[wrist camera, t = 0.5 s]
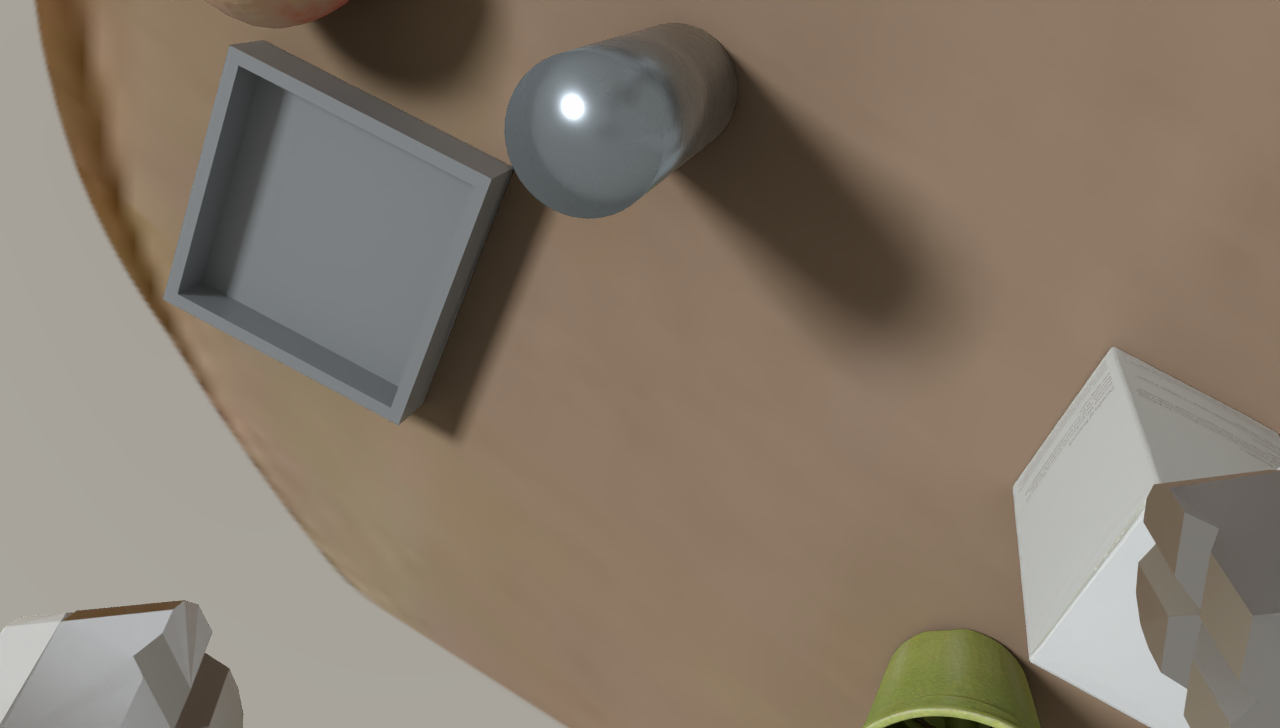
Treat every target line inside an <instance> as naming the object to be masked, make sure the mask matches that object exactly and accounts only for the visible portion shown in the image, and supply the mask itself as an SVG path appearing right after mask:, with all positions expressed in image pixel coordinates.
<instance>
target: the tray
mask: <svg viewBox="0 0 1280 728" xmlns="http://www.w3.org/2000/svg"><path fill="white" fill-rule="evenodd" d="M513 169H514V168H513V167H512V166H510V165H508V164H506V163H504V162H502V161H500V160H498V159H496V158H494V157H492V156H490V155H488V154H486V153H484V152H482V151H480V150H478V149H476V148H474V147H472V146H470V145H468V144H466V143H464V142H462V141H460V140H458V139H456V138H455V137H453V136H451V135H449V134H447V133H445V132H443V131H441V130H439V129H437V128H435V127H433V126H431V125H429V124H427V123H425V122H423V121H421V120H419V119H417V118H415V117H413V116H411V115H409V114H407V113H405V112H403V111H401V110H399V109H397V108H396V107H394V106H392V105H390V104H388V103H386V102H384V101H382V100H380V99H378V98H376V97H374V96H372V95H370V94H368V93H366V92H364V91H362V90H360V89H358V88H356V87H354V86H352V85H350V84H348V83H346V82H344V81H342V80H340V79H338V78H337V77H335V76H333V75H331V74H329V73H327V72H325V71H323V70H321V69H319V68H317V67H315V66H313V65H311V64H309V63H307V62H305V61H303V60H301V59H299V58H297V57H295V56H293V55H291V54H289V53H287V52H285V51H283V50H281V49H279V48H278V47H276V46H274V45H272V44H270V43H268V42H266V41H264V40H262V41H255V42H248V43H241V44H234V45H229V49H228V53H227V57H226V60H225V64H224V68H223V72H222V76H221V80H220V83H219V87H218V91H217V95H216V99H215V103H214V106H213V110H212V114H211V118H210V122H209V126H208V129H207V133H206V137H205V141H204V145H203V149H202V152H201V156H200V160H199V164H198V168H197V171H196V175H195V179H194V183H193V187H192V191H191V194H190V198H189V202H188V206H187V210H186V214H185V217H184V221H183V225H182V229H181V233H180V237H179V240H178V244H177V248H176V252H175V256H174V260H173V263H172V267H171V271H170V275H169V279H168V283H167V286H166V290H165V294H164V298H163V300H165V301H167V302H169V303H171V304H173V305H175V306H176V307H178V308H180V309H182V310H184V311H186V312H188V313H190V314H191V315H193V316H195V317H197V318H199V319H201V320H203V321H205V322H206V323H208V324H210V325H212V326H214V327H216V328H218V329H219V330H221V331H223V332H225V333H227V334H229V335H231V336H233V337H234V338H236V339H238V340H240V341H242V342H244V343H246V344H248V345H249V346H251V347H253V348H255V349H257V350H259V351H261V352H263V353H264V354H266V355H268V356H270V357H272V358H274V359H276V360H277V361H279V362H281V363H283V364H285V365H287V366H289V367H291V368H292V369H294V370H296V371H298V372H300V373H302V374H304V375H306V376H307V377H309V378H311V379H313V380H315V381H317V382H319V383H321V384H322V385H324V386H326V387H328V388H330V389H332V390H334V391H335V392H337V393H339V394H341V395H343V396H345V397H347V398H349V399H350V400H352V401H354V402H356V403H358V404H360V405H362V406H364V407H365V408H367V409H369V410H371V411H373V412H375V413H377V414H378V415H380V416H382V417H384V418H386V419H388V420H390V421H392V422H393V423H395V424H397V425H399V424H400V423H402V422H403V421H404V420H405V419H406V418H407V417H409V416H410V415H411V414H412V413H413V412H415V411H416V410H417V409H418V408H419V407H420V406H422V405H423V402H424V400H425V397H426V395H427V392H428V389H429V387H430V384H431V382H432V379H433V376H434V374H435V371H436V369H437V366H438V364H439V361H440V358H441V356H442V353H443V351H444V348H445V345H446V343H447V340H448V338H449V335H450V332H451V330H452V327H453V325H454V322H455V319H456V317H457V314H458V312H459V309H460V306H461V304H462V301H463V299H464V296H465V294H466V291H467V288H468V286H469V283H470V281H471V278H472V275H473V273H474V270H475V268H476V265H477V262H478V260H479V257H480V255H481V252H482V249H483V247H484V244H485V242H486V239H487V237H488V234H489V231H490V229H491V226H492V224H493V221H494V218H495V216H496V213H497V211H498V208H499V205H500V203H501V200H502V198H503V195H504V192H505V190H506V187H507V185H508V182H509V179H510V177H511V174H512V172H513Z"/></svg>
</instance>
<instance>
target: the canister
mask: <svg viewBox="0 0 1280 728" xmlns="http://www.w3.org/2000/svg"><path fill="white" fill-rule="evenodd" d="M737 94H738V83H737V76H736V72H735V68H734V66H733V63H732V61H731V59H730V57H729V55H728V53H727V52H726V50H725V49H724V48H723V46H722V45H721V44H720V43H719V42H718V41H717V40H716V39H715V38H714V37H712V36H711V35H710V34H709V33H707V32H705V31H703V30H702V29H699V28H697V27H695V26H691V25H687V24H681V23H667V24H662V25H658V26H654V27H651V28H647V29H644V30H640V31H637V32H633V33H630V34H626V35H622V36H619V37H615V38H612V39H608V40H605V41H601V42H598V43H594V44H591V45H587V46H584V47H580V48H577V49H573V50H570V51H566V52H563V53H559V54H556V55H553V56H551V57H549V58H547V59H545V60H543V61H541V62H540V63H538V64H537V65H535V66H534V67H533V68H532V69H531V70H530V71H528V72H527V73H526V74H525V76H524V77H523V78H522V79H521V80H520V82H519V83H518V85H517V87H516V88H515V90H514V92H513V94H512V96H511V99H510V101H509V105H508V108H507V112H506V118H505V142H506V147H507V152H508V155H509V158H510V161H511V164H512V166H513V168H514V170H515V173H516V174H517V176H518V177H519V179H520V181H521V182H522V183H523V185H524V186H525V187H526V189H527V190H528V191H529V192H530V193H531V194H532V195H533V196H534V197H535V198H536V199H538V200H539V201H540V202H542V203H543V204H544V205H546V206H548V207H549V208H551V209H553V210H555V211H557V212H559V213H562V214H565V215H568V216H572V217H578V218H600V217H605V216H609V215H613V214H615V213H617V212H620V211H622V210H624V209H625V208H627V207H629V206H631V205H632V204H633V203H634V202H636V201H637V200H638V199H639V198H641V197H642V196H643V195H644V194H646V193H647V192H648V191H650V190H651V189H652V188H653V187H655V186H656V185H657V184H658V183H660V182H661V181H662V180H664V179H665V178H666V177H667V176H669V175H670V174H671V173H672V172H674V171H675V170H676V169H677V168H679V167H680V166H681V165H683V164H684V163H685V162H686V161H688V160H689V159H690V158H691V157H693V156H694V155H695V154H697V153H698V152H699V151H700V150H702V149H703V148H704V147H705V146H707V145H708V144H709V143H710V142H712V141H713V140H714V139H715V138H717V137H718V136H719V135H720V134H721V133H722V132H723V130H724V129H725V128H726V126H727V125H728V123H729V121H730V119H731V118H732V115H733V113H734V110H735V106H736V102H737Z"/></svg>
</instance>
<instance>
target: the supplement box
mask: <svg viewBox="0 0 1280 728" xmlns="http://www.w3.org/2000/svg"><path fill="white" fill-rule="evenodd" d="M1279 467H1280V436H1279V434H1278V433H1276V432H1275V431H1273V430H1271V429H1269V428H1267V427H1266V426H1264V425H1262V424H1260V423H1258V422H1257V421H1255V420H1253V419H1251V418H1250V417H1248V416H1246V415H1244V414H1242V413H1240V412H1238V411H1236V410H1234V409H1233V408H1231V407H1229V406H1227V405H1225V404H1223V403H1221V402H1219V401H1217V400H1216V399H1214V398H1212V397H1210V396H1208V395H1206V394H1204V393H1202V392H1200V391H1198V390H1196V389H1194V388H1193V387H1191V386H1189V385H1187V384H1185V383H1183V382H1181V381H1179V380H1177V379H1175V378H1173V377H1171V376H1170V375H1168V374H1166V373H1164V372H1162V371H1160V370H1158V369H1156V368H1154V367H1152V366H1150V365H1148V364H1146V363H1145V362H1143V361H1141V360H1139V359H1137V358H1135V357H1133V356H1131V355H1129V354H1127V353H1125V352H1124V351H1122V350H1120V349H1118V348H1116V347H1112V348H1111V349H1110V350H1109V351H1108V353H1107V354H1106V355H1105V357H1104V358H1103V360H1102V361H1101V363H1100V364H1099V365H1098V367H1097V368H1096V369H1095V371H1094V372H1093V374H1092V375H1091V377H1090V378H1089V379H1088V381H1087V382H1086V384H1085V385H1084V386H1083V388H1082V389H1081V391H1080V392H1079V394H1078V395H1077V396H1076V398H1075V399H1074V400H1073V402H1072V403H1071V405H1070V406H1069V407H1068V409H1067V410H1066V412H1065V413H1064V415H1063V416H1062V417H1061V419H1060V420H1059V422H1058V423H1057V424H1056V426H1055V427H1054V429H1053V430H1052V432H1051V433H1050V434H1049V436H1048V437H1047V439H1046V440H1045V442H1044V443H1043V444H1042V446H1041V447H1040V448H1039V450H1038V451H1037V453H1036V454H1035V456H1034V457H1033V459H1032V460H1031V462H1030V463H1029V464H1028V465H1027V467H1026V468H1025V470H1024V471H1023V473H1022V474H1021V476H1020V477H1019V479H1018V480H1017V481H1016V483H1015V484H1014V486H1013V496H1014V504H1015V517H1016V527H1017V537H1018V548H1019V557H1020V569H1021V581H1022V590H1023V600H1024V610H1025V620H1026V631H1027V640H1028V652H1029V660H1030V662H1032V663H1033V664H1035V665H1037V666H1038V667H1040V668H1042V669H1044V670H1046V671H1048V672H1050V673H1052V674H1053V675H1055V676H1057V677H1059V678H1061V679H1062V680H1064V681H1066V682H1068V683H1070V684H1072V685H1073V686H1075V687H1077V688H1079V689H1081V690H1082V691H1084V692H1086V693H1088V694H1090V695H1091V696H1093V697H1095V698H1097V699H1099V700H1101V701H1102V702H1104V703H1106V704H1108V705H1110V706H1111V707H1113V708H1115V709H1117V710H1119V711H1121V712H1122V713H1124V714H1126V715H1128V716H1130V717H1132V718H1133V719H1135V720H1137V721H1139V722H1141V723H1143V724H1144V725H1146V726H1148V727H1150V728H1190V727H1189V725H1188V723H1187V721H1186V719H1185V717H1184V708H1185V702H1186V695H1187V689H1186V688H1185V687H1183V686H1181V685H1180V684H1178V683H1177V682H1175V681H1173V680H1172V679H1170V678H1169V677H1167V676H1165V675H1164V674H1162V673H1161V672H1160V670H1159V668H1158V666H1157V664H1156V662H1155V660H1154V658H1153V656H1152V654H1151V652H1150V650H1149V648H1148V645H1147V642H1146V640H1145V637H1144V634H1143V631H1142V628H1141V625H1140V619H1139V612H1138V605H1137V598H1136V583H1137V571H1138V562H1139V561H1140V560H1141V559H1142V558H1143V557H1144V556H1145V555H1146V554H1147V553H1148V552H1149V551H1150V549H1151V548H1152V547H1153V546H1154V545H1155V544H1156V543H1155V541H1154V540H1153V538H1152V536H1151V534H1150V533H1149V531H1148V529H1147V528H1146V526H1145V524H1144V523H1143V520H1144V513H1145V506H1146V499H1147V496H1148V495H1149V493H1150V491H1151V489H1152V487H1153V485H1154V484H1160V483H1168V482H1176V481H1184V480H1192V479H1200V478H1207V477H1215V476H1223V475H1231V474H1239V473H1247V472H1255V471H1263V470H1276V469H1277V468H1279Z"/></svg>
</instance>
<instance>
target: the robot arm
mask: <svg viewBox="0 0 1280 728" xmlns="http://www.w3.org/2000/svg"><path fill="white" fill-rule="evenodd" d="M1143 523H1144V524H1145V526H1146V528H1147V529H1148V531H1149V533H1150V534H1151V536H1152V538H1153V540H1154V541H1155V543H1156V544H1155V545H1154V546H1153V547H1152V548H1151V549H1150V551H1149V552H1148V553H1147V554H1146V555H1145V556H1144V557H1143V558H1142V559H1141V560H1140V561H1139V562H1138V571H1137V583H1136V598H1137V605H1138V612H1139V619H1140V625H1141V628H1142V631H1143V634H1144V637H1145V640H1146V642H1147V645H1148V648H1149V650H1150V652H1151V654H1152V656H1153V658H1154V660H1155V662H1156V664H1157V666H1158V668H1159V670H1160V672H1161V673H1162V674H1164V675H1165V676H1167V677H1169V678H1170V679H1172V680H1173V681H1175V682H1177V683H1178V684H1180V685H1181V686H1183V687H1185V688H1186V689H1187V695H1186V702H1185V708H1184V717H1185V719H1186V721H1187V723H1188V725H1189V727H1190V728H1280V467H1279V468H1277V469H1276V470H1263V471H1255V472H1247V473H1239V474H1231V475H1223V476H1215V477H1207V478H1200V479H1192V480H1184V481H1176V482H1168V483H1160V484H1154V485H1153V487H1152V489H1151V491H1150V493H1149V495H1148V496H1147V499H1146V506H1145V513H1144V520H1143ZM211 635H212V630H211V628H210V626H209V624H208V622H207V620H206V618H205V616H204V615H203V613H202V611H201V609H200V607H199V605H198V604H195V603H192V602H188V601H185V600H183V601H173V602H162V603H151V604H141V605H130V606H120V607H110V608H100V609H89V610H78V611H75V612H74V613H59V614H49V615H38V616H27V617H21V618H19V619H17V620H16V621H14V622H12V623H11V624H9V625H7V626H6V627H4V629H3V631H2V632H1V634H0V728H243V710H242V705H241V700H240V695H239V690H238V687H237V685H236V682H235V680H234V678H233V676H232V673H231V671H230V669H229V668H228V667H226V666H225V665H223V664H222V663H220V662H218V661H217V660H215V659H214V658H212V657H211V656H209V655H208V654H206V653H205V651H206V648H207V645H208V643H209V640H210V637H211Z"/></svg>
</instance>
